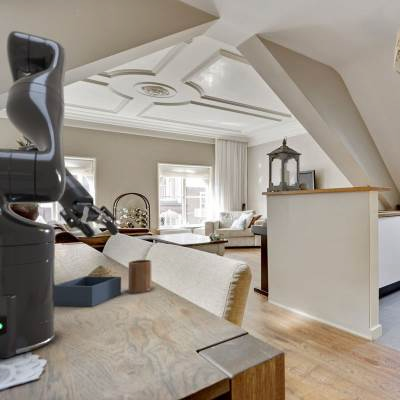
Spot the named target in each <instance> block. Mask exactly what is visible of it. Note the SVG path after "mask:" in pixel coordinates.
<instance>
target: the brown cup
mask: <svg viewBox="0 0 400 400" xmlns="http://www.w3.org/2000/svg"><path fill="white" fill-rule="evenodd" d="M152 264H153V263H152V260H151V259H135V260H131V261H129V262H128V278H127V279H128V284H127V285H128V288H127V289H128V293H129V294H141V293H146V292H149V291H151V290H152Z"/></svg>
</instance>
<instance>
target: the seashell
mask: <svg viewBox="0 0 400 400" xmlns="http://www.w3.org/2000/svg"><path fill="white" fill-rule="evenodd" d="M116 274H118V272H117V271H115V270H114V269H112V268H111V267H109V266H104V265H99V266H97V267H96V268H94V269H93V270H92V271H91V272H90V273H88V275H87V276H101V277H115V275H116Z"/></svg>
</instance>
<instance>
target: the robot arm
mask: <svg viewBox="0 0 400 400" xmlns="http://www.w3.org/2000/svg"><path fill="white" fill-rule="evenodd" d="M66 53H67V52H66V50H65V48H64V46H63V45H62V44H61V43H60V42H58V41H56V40H54V39H51V38H47V37H43V36H39V35H36V34H31V33H27V32H23V31H18V30H12V31H9V32H8V35H7V37H6V59H7V64H8V68H9V73H10V77H11V81H12V85H11V86H10V87H9V89H8V93H7V98H6V103H5V113H6V114H5V115H6V116H7V119H8V120H9V122H10V123H11V124H12V126H13V127H14V128H15V129H16V130H17V131H18V132H19V133H20V134H21V135H22V137H23V139H24V140H25V141H26V143H29V144H30V145H22V146H20V147H18V148H5V147H0V359H1V358H3V359H9V358H12V357H13V356H16V355H19V354H22V353H26V352H29V351H33V350H36V349H38V348H42V347H44V346H45V345H48V344H49V343H50V342H52V341H53V340H54V339H55V338H56V337H55V336H56V332H55V305H54V285H55V270H56V269H55V265H56V264H55V262H56V258H55V257H56V252H55V251H56V230H55V227H54V226H52V225H51V224H47V223H44V222H39V221H35V220H31V219H28V218H26V217H23V216H21V215H20V214H17V213H15V212H14V211H13V210H12V209H11V207H10V205H11V204H52V203H53V204H54V203H57V202H58V204H59V205H60V206H61V207H62V209H61V210H60V211H59V215H60V216H61V218H62V219H63V221H64V222H65V223H66V224H67V226H68V227H69V228H70V229H74V228H76V229H77V230H80V232H81V233H82V234H83V235H84V236H85V237H86V238H87V239H92V238H93V237H94V236H95V235H96V232H95V230H94V229H93V228H92V227H91V226H90V225H89V222H91V223H95V224H98V225H103V226H104V227H105V229H106V230H107V231H108V232H109V233H110V234H111V236H116V235H117V234H118V233H119V232H120V230H119V228H118V226H116V224H115V223H114V222H115V221H116V220H117V218H116V216H115V215H114V214H113V213H112V212H111V211H110V210H109V208H107V206H105V205H101V207H98V206H96V205H95V204H94V197H93V196H92V195H91V193H90V192H88V190H87V189H86V188H85V186H84V185H83V184H82V183H81V182H80V181H79V180H78V179H76V177H75V176H74V175H73V174H72V173H71V171H70V170H69V169H68V168H67V166H66V162H65V151H64V150H65V149H64V127H65V126H64V125H65V92H64V91H65V90H64V86H65V85H64V84H65V78H66V71H67V54H66ZM99 217H100V218H99Z"/></svg>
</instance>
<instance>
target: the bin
mask: <svg viewBox="0 0 400 400" xmlns="http://www.w3.org/2000/svg"><path fill="white" fill-rule="evenodd" d="M121 294H122V277H121V276H113V277H101V276H88V275H85V276H82V277H79V278H74V279H71V280H68V281H65V282H60V283H57V284H54V306H61V307H62V306H64V307H66V306H67V307H94V306H96V305H99V304H101V303H104V302H106V301H108V300H111V299H113V298H115V297H117V296H120V295H121Z"/></svg>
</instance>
